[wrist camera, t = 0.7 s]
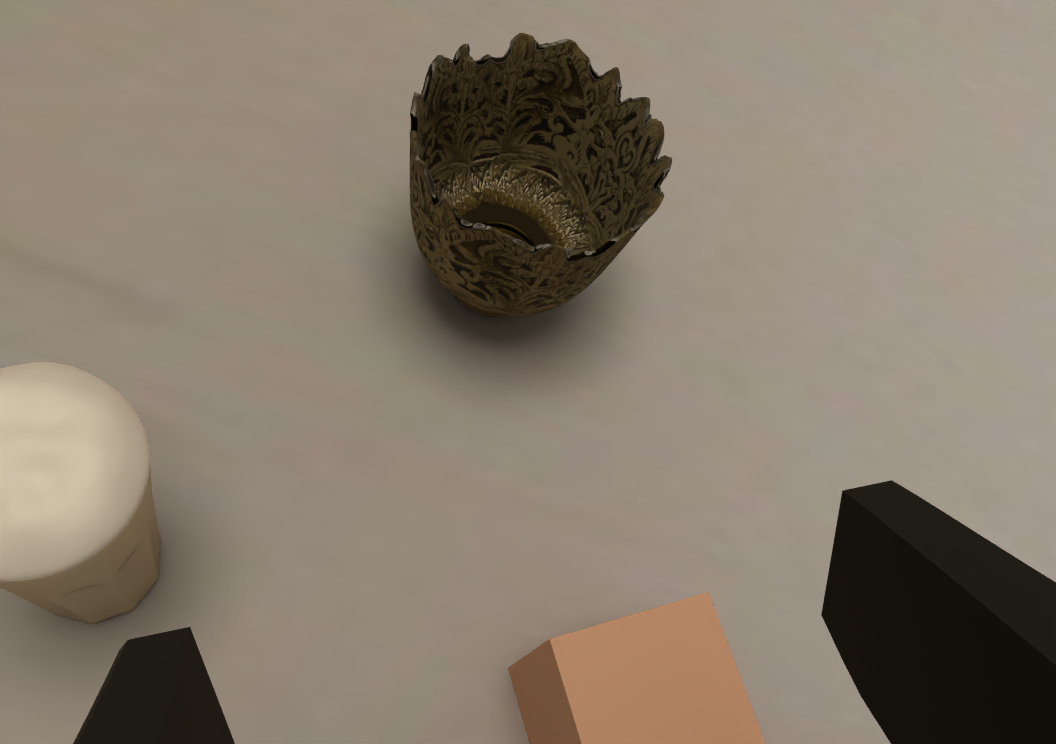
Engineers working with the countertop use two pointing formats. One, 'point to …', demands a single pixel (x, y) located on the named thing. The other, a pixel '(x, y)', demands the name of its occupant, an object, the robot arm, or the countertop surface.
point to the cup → (528, 174)
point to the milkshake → (74, 494)
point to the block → (637, 682)
